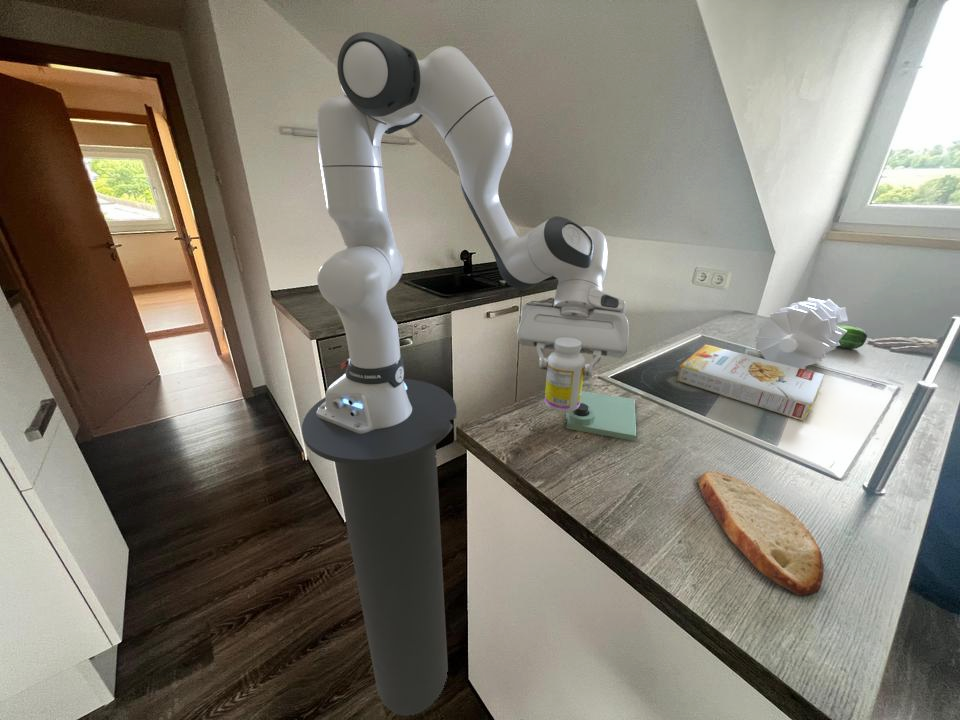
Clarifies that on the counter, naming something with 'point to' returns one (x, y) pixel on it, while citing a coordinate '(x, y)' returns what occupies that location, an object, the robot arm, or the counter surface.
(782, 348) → the spiral staircase
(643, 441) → the counter surface
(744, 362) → the cereal box
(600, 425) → the scale
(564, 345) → the supplement bottle
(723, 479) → the bread slice
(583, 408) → the button
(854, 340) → the vegetable
